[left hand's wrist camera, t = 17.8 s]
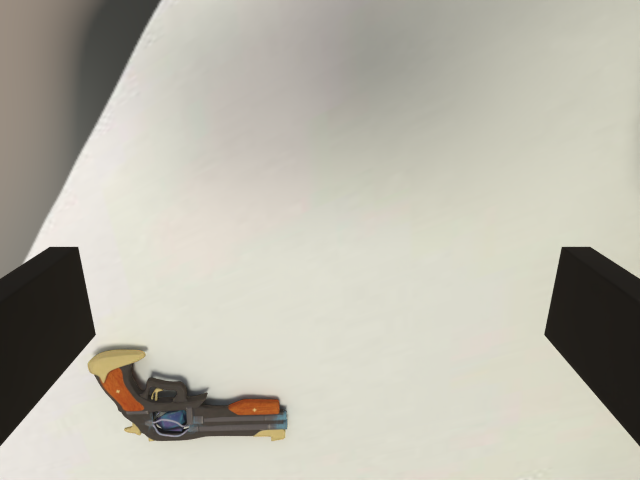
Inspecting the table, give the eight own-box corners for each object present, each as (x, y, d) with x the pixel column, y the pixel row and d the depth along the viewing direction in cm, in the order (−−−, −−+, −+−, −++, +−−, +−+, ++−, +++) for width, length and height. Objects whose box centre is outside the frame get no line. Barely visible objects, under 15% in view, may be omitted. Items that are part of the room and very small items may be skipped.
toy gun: (81, 359, 41) (91, 452, 44) (288, 356, 43) (287, 447, 45) (93, 345, 44) (102, 434, 46) (287, 343, 46) (286, 429, 48)
